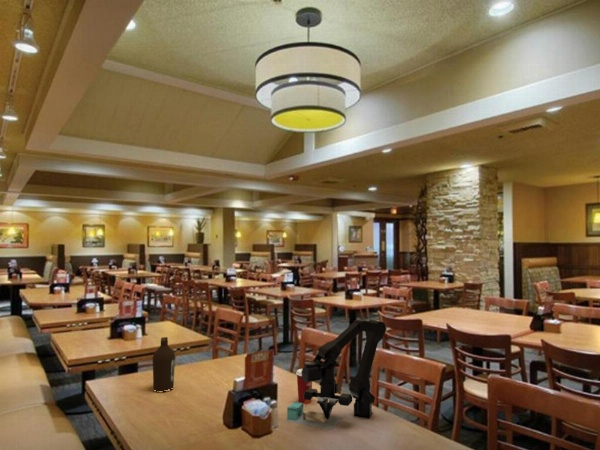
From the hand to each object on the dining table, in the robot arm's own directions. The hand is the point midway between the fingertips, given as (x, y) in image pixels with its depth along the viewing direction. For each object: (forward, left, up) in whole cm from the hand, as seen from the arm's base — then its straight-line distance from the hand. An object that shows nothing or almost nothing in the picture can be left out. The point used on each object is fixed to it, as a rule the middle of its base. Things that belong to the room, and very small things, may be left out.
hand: (327, 418), depth 166 cm
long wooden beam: (+6, 0, -1) cm, 6 cm away
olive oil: (+87, -5, -2) cm, 87 cm away
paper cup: (+17, -17, -2) cm, 24 cm away
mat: (+6, 0, -2) cm, 6 cm away
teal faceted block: (+14, 0, -1) cm, 14 cm away
